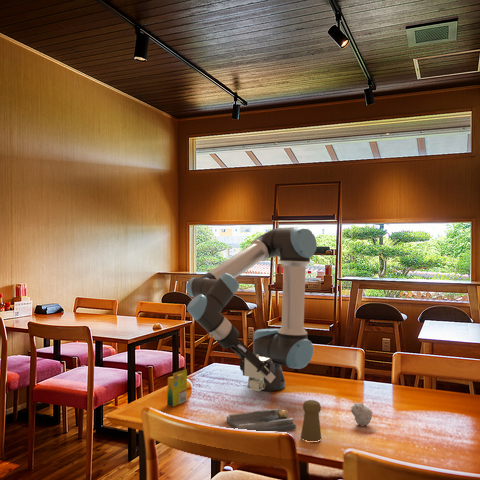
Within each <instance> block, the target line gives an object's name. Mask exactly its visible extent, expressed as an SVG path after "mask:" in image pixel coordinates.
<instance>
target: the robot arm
mask: <svg viewBox="0 0 480 480" xmlns="http://www.w3.org/2000/svg"><path fill="white" fill-rule="evenodd" d="M317 245H318V243H317V239H316V236H315V234H314V233H313V232H312V231H311V229H309V228H307V227H303V226H302V227H301V226H294V227H291V226H290V227H277V228H273V229H271V230H269V231H266V232H265V233H263V234H261V235H260V236H258V237H256V238H255V239H253V240H252V241H251V243H250V245H248V246H247V247H246V248H244V249H242V250H241V251H239V252H238V253H236V254H235V255H233V256H231V257H230V258H228V259H227V260H225V261H223V262H222V263H220V264H218V265H217V266H215V267H214V268H212V269H211V270H209V271H208V272H206V273H205V274H203V275H201V276H199V277H198V276H196V277H191V278H189V280H188V281H187V283H186V286H185V288H186V293H187V294H188V296H189V297H192V299H191V300H190V301H189V303H187V307H186V310H187V312H188V313H189V315H190V316H191V317H192V318H193V320H194V321H196V322H197V323H198V324H199V325H200V326H201V327H202V328H203V329H204V330H205V331H206V332H207V333H208V334H209V335H208V336H209V338H213V339H214V340H215V341H216V342H217V344H219V345H220V346H221V347H222V349H229V348H230V350H232V351H233V352H234V354H236V355H237V356H238V357H239V359H240V360H242V359H243V358H244V357H245V358H246V359H247V360H248V361H249V362H250V363H251V364H252V365H253V366H255V367H256V368H257V372H260V373H261V374H262V375H263V376H264V377H265V378H266V380H264V379H263V380H264V383H265V388H264V389H263V390H261V391H262V392H263V391H265V392H274V391H281V390H283V389H285V387H286V380H285V376H284V372H283V368H282V366H285V367H288V368H290V369H296V370H301V369H304V368H305V367H306V366H308V365H309V363H310V362H311V360H312V358H313V355H314V345H313V343H312V341H311V340H309V339H308V331H307V330H306V329H305V327H304V325H305V324H304V323H305V299H306V298H305V296H306V294H305V293H306V271H307V269H306V267H307V266H308V264H309V263H310V261H311V257H313V256H314V255H315V253H316V251H317V247H318V246H317ZM277 257H279V262H280V263H281V264H282V266H283V274H282V275H283V276H282V278H283V279H282V301H281V302H282V303H281V304H282V305H281V326H280V328H261V329H256V330H255V331H254V332H253V339H252V350H250V348H248V347H247V345H246V344H245V343H244V342H243V341H242V340H240V339H239V337H240V332H239V330H238V329H237V328H236V327H235V326H234V325H233V324H232V323H231V322H230V321H229V320H228V318H226V316H225V315H224V314H223V313H222V310H223V309H224V308H225V307H226V305H228V303H229V302H230V301H231V299H233V297H234V296H235V294H236V293H237V291H238V289H239V288H240V284H239V282H238V280H237V277H239V276H240V275H242V274H243V273H245V272H247V271H248V270H249V269H251V268H253V267H255V266H256V265H257V264H258V263H260V262H266V261H267V260H269V259H271V258H277ZM256 355H259V356H260V357H265V358H271V359H272V362H273V363H274V364H275V373H274V375H273V374H272V373H271V372H270V374H269V369H268V368H267V367H266V366H265V364H264V363H263V362H262V361H261V360H260V359H259V358H257V357H256ZM253 379H254V378H252V377H248V379H247V381H248V382H247V386H248V387H249V388H250V386H249V382H250V380H253Z"/></svg>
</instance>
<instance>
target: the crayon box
mask: <svg viewBox="0 0 480 480" xmlns="http://www.w3.org/2000/svg"><path fill="white" fill-rule="evenodd" d="M187 371H188V369H183V370H180V371H175V372H173V373H172V376H169V377H167V398H166V400H167V401H166V402H167V403H166V404H167V406H169V407H172V408H174V407H176V406H178V405H181V404H183V403H186V402H188V401H187V398H188V397H187V391H188V389H187V387H188V386H187V385H188V383H187V382H188V381H187V380H188V372H187Z"/></svg>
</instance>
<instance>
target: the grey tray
mask: <svg viewBox="0 0 480 480" xmlns="http://www.w3.org/2000/svg"><path fill="white" fill-rule="evenodd" d="M288 416H289V413H288V410H287V409H282V410H281V408H273V409H264V410H257V411H255V410H254V411H248V412H238V413H229V414H228V416H226V423H227V424H228V425H229V426H230V427H231V428H232V429H234V428H238V429H247V430H256V431H283V432H287V431H295V430H294V429H297V424H295V423H294V418H293V417H289V418H288Z"/></svg>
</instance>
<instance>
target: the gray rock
mask: <svg viewBox="0 0 480 480" xmlns="http://www.w3.org/2000/svg"><path fill="white" fill-rule="evenodd" d="M350 409H351V410H350V411H351V413H352V415H353V416H354V421H355V422H356V423H357V425H359V426H361V425H366V426H368V425H369V424H370V423H371V421H372V420H373V419H372V418H373V413H374V412H373V411H372V410H371V408H369V407H368V406H365V405H364V404H363V403H362V402H355V403H354V404H353V405H351V406H350Z"/></svg>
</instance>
